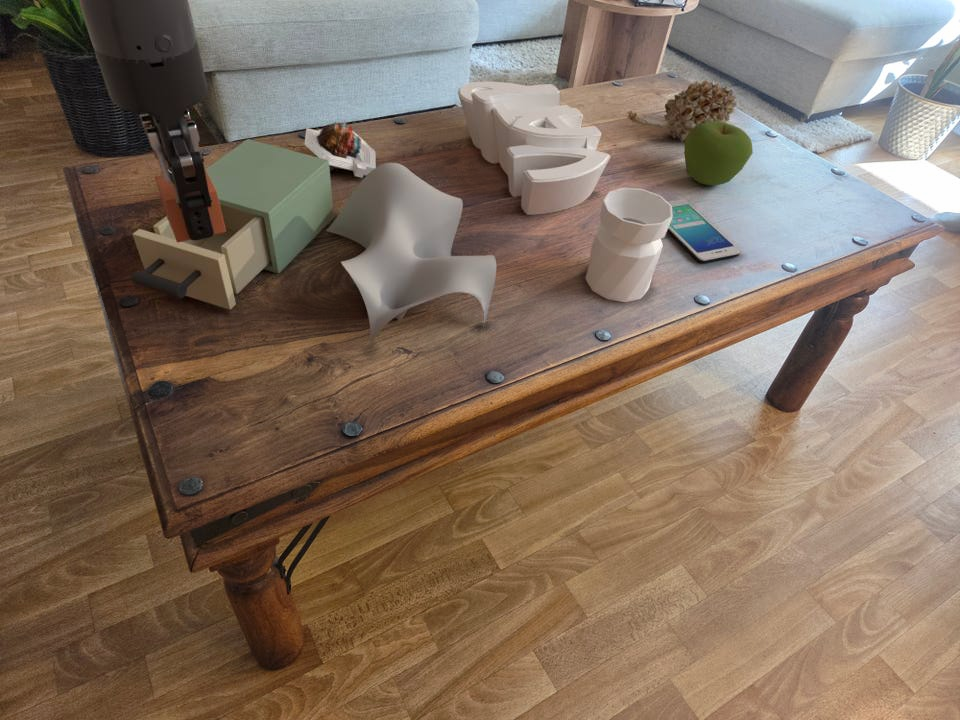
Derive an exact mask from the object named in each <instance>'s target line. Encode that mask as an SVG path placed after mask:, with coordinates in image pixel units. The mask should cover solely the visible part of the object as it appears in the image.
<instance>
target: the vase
mask: <svg viewBox="0 0 960 720" xmlns="http://www.w3.org/2000/svg"><path fill="white" fill-rule="evenodd" d="M672 217H673V213H672V206H671V205H670V204H669V203H668V201H667V200H666V199H665V198H664V197H662V195H660V194H658V193H654V192H652V191H650V190H646V189H644V188H636V187H620V188H617V189H613V190H610V191H608V193H607V194H606V196H605V197H604V199H603V200H602V204H601V207H600V213H599V219H600V224H599V225H598V227H597V230H596V233H595V235H594V239H593V242H592V245H591V249H590V254H589V261H588V266H587V267H588V268H587V272H586V273H585V281H586V282H587V284H588V286H589V288H590V289H591V291H592V292H593V293H596V294H597V295H599V296H600V297H602V298H604V299H605V300H608V301H614V302H621V303H630V302H634V301H637V300H641V299H642V298H643V297H644V296H645V295H646V293H647V292H648V291H649V288H650V287H651V282H652V279H653V275H654V272H655V270H656V268H657V265H658V262H659V260H660V256H661V254H662V250H663V247H664V245H663V242H662V239H663V238H665V237H666V234H667V233H668V232H667V230H668V227H669V225H670V222H671V220H672Z"/></svg>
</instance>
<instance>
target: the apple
mask: <svg viewBox="0 0 960 720" xmlns="http://www.w3.org/2000/svg"><path fill="white" fill-rule="evenodd" d="M683 153H684V162H685V163H684V164H685V170H686V173H687V174H688V175H689V176H690V177H691V178H692V179H693V180H694V181H695V182H697V183H699V184H701V185H704V186H709V187H711V186H712V187H713V186H720V185H725V184H726V183H727V184H728V183H729V182H730V181H731V180H732V179H734V178H735V177H736V176H737V175H738V174H739V173H740V172H741V171H742V170H743V168H744V167H745V166H746V164H747V162H748V161H749V159H750V158H751V156H752V155H753V153H754V152H753V142H752V140H751V137H750V136H749V135H748V134H747V132H745V130H743V129H742V128H740V127H738V126H737V125H736V126H735V125H733V124H730V123H728V122H726V123H725V122H719V121H710V122H706V123H703V124H700V125H697V126H695V127H694V128H693V129H692V130H691V131H690V132H689V134H688V135H687V137H686V138H685V140H684V151H683Z"/></svg>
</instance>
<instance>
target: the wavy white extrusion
mask: <svg viewBox="0 0 960 720" xmlns="http://www.w3.org/2000/svg"><path fill="white" fill-rule="evenodd" d="M457 95H458V98H459V102H460V105H461V108H462V112H463V115H464V118H465V122H466V125H467V129H468V131H469V135H470V138H471V141H472V145H473V146H474V147H476V148H477V149H479V150H480V153H481V156H482V158H483V159H484V160H485V161H487V162H488V163H490V164H499V165H500V168H501V169H502V170H503V172H504V173H505V174H506V175H507V178H508V179H507V180H508V192H509V194H510V195H511V196H512V197H513V198H516V197H521V200H520V208H521V210H522V211H523V212H524V213H525V214H526V215H527V216H530V215H532V216H533V215H544V214H552V213H557V212H562V211H565V210H568V209H571V208H573V207H575V206H578V205H579V204H581V203H583V202H585V201H586V200H587V199H588V198H589V197H590V196H591V195H592V193H593V191H594V190H595V188H596V186H597V184H598V182H599V181H600V178H601V177H602V175H603V172H604V170H605V168H606V167H607V165H608V163H609V160H610V158H611V157H612V155H610V154H609V153H607V152H604V151H599V150H597V149H598V146H599V143H600V140H601V137H602V132H601V131H600V129H599V128H598V127H596V126H595V125H589V126H582V124H583V119H584V115H583V113H582V112H581V111H580V110H579V109H578V108H577V107H570V106H569V105H568V104H562V105H560V99H561V97H560V96H561V92H560V90H559V88H557V86H555V85H554V84H551V83H545V84H533V85H524V84H520V83H514V82H503V81H474V82H473V81H472V82H468V83H465V84H463V85H462V86H460V87H459V88H458V90H457Z"/></svg>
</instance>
